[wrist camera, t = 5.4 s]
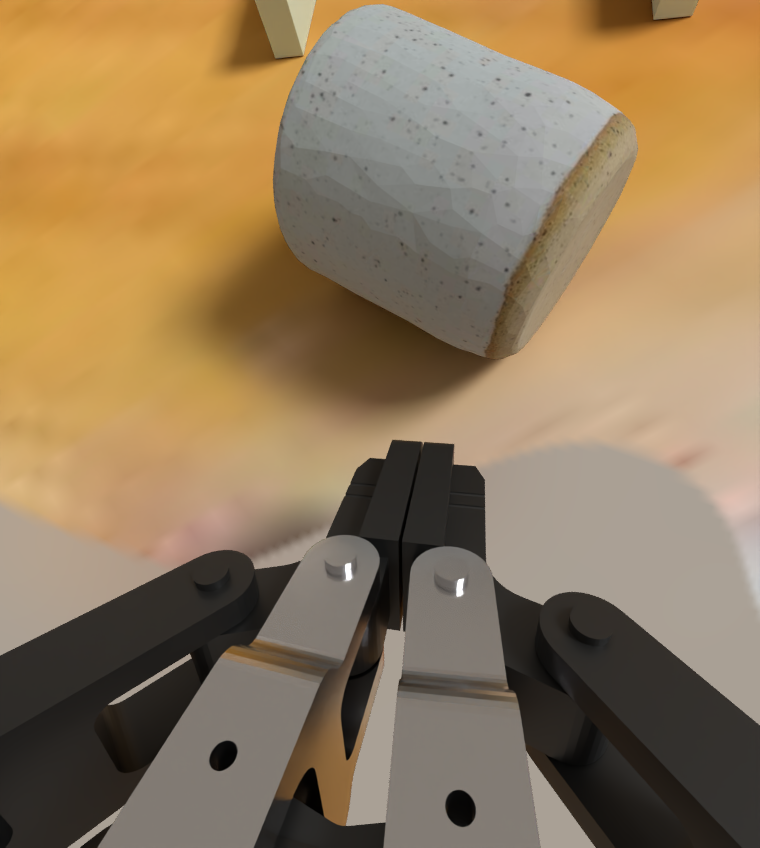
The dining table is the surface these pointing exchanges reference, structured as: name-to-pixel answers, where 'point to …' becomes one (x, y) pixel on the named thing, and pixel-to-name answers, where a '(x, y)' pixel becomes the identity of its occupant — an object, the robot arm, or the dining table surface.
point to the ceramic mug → (444, 177)
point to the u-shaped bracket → (294, 4)
